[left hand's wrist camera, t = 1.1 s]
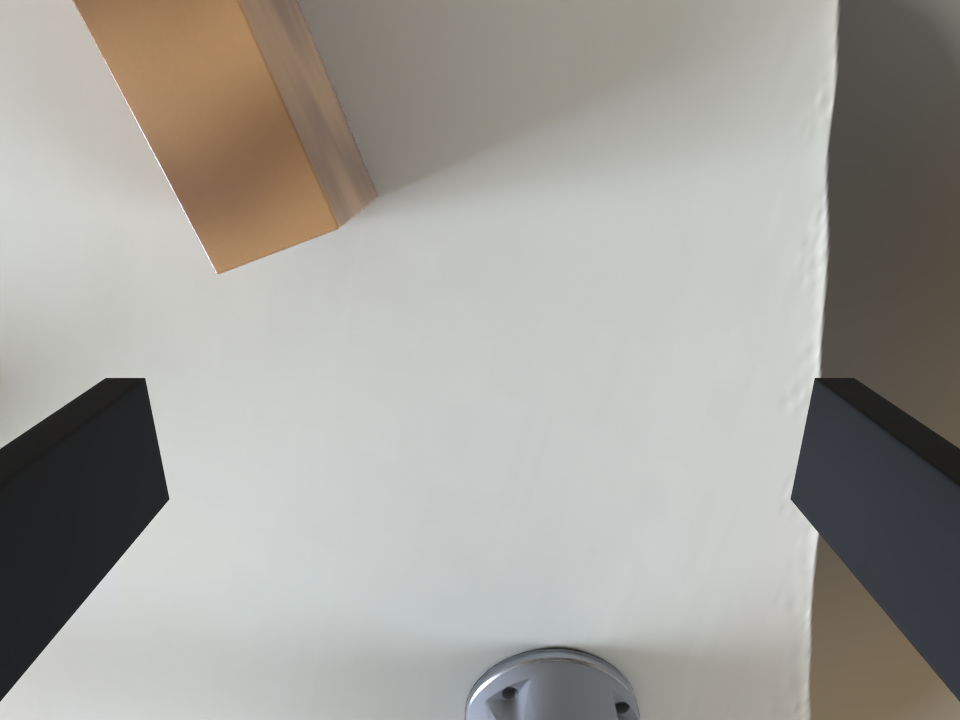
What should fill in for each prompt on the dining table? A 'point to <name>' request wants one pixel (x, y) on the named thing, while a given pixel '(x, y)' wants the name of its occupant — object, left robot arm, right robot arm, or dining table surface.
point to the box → (235, 118)
